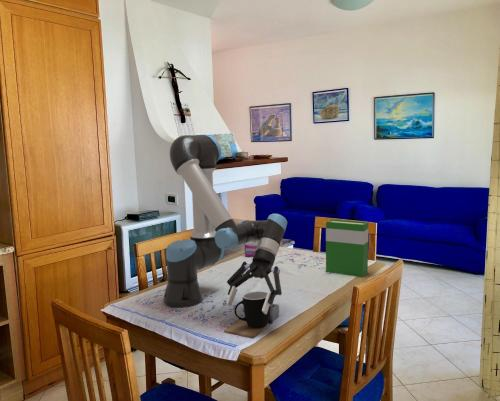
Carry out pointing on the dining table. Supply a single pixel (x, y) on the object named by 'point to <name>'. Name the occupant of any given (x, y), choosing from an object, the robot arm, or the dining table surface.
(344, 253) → the hardback book
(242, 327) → the coaster
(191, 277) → the robot arm
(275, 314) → the grey l-shaped bracket
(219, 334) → the dining table surface
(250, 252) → the candy bar box
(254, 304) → the mug
